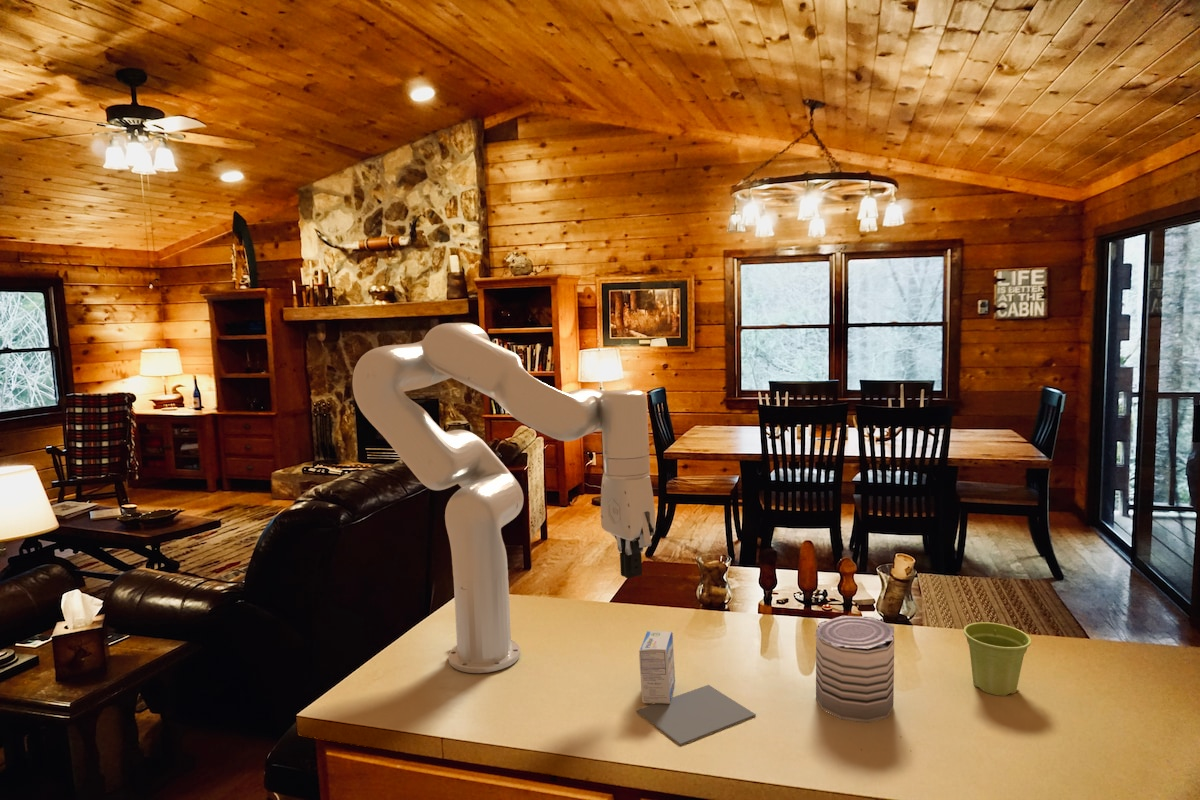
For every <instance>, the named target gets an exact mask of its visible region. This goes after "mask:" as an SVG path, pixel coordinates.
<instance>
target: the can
mask: <svg viewBox="0 0 1200 800" xmlns="http://www.w3.org/2000/svg"><path fill="white" fill-rule="evenodd" d="M894 634H895V626H893V625H891V624H889V623H886V622H884V621H882V620H880V619H878V618H875V617H874V616H855V615H841V616H837V617H834V618H831V619H828V620H824V621H821V622H818V625H817V627H816V630H815V635H814V636H815V699H816V701H817V703H818V702H819V703H818V704H820V705H819V706H821V707H820V709H821V710H822V711H824V712H826V711H827V712H826V713H828V712H829V713H828V714H830V713H831V714H830V715H832V714H833V716H834V715H835V716H834V717H836V716H837V717H836V718H838V717H839V718H838V719H840V720H843V721H844V720H845V721H850V722H857V723H859V722H860V723H865V724H866V723H872V722H876V721H880V720H885V719H887V718H888V717H889V716H890V714H891V712H892V711H893V709H894V697H895V696H894V692H895V689H894V687H895V685H894V684H895V638H894V637H895V636H894Z"/></svg>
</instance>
